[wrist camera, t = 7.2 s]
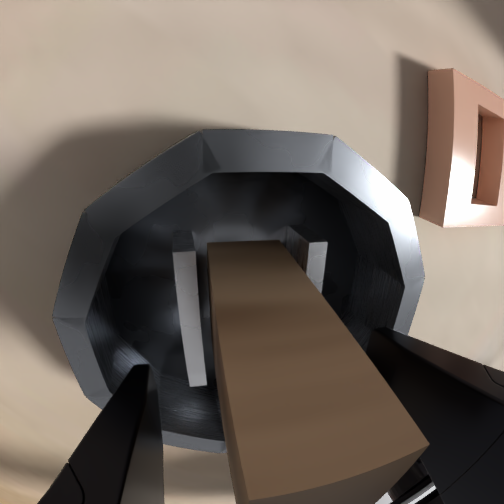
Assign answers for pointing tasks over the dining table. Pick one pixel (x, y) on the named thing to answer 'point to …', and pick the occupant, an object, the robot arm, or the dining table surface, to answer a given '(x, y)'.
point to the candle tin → (226, 230)
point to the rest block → (463, 153)
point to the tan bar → (298, 388)
